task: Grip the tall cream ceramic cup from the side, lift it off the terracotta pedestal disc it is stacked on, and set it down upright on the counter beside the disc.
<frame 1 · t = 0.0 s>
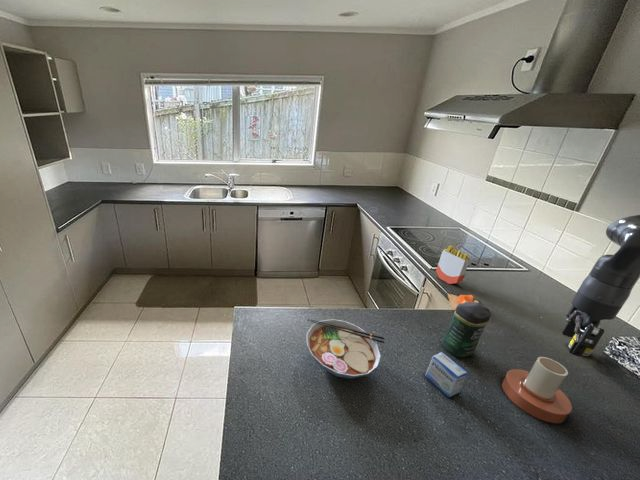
hand: (570, 344, 76), 20 cm above the worktop, tool pointing down, fingers open, 8 cm apart
ramen bowl: (338, 361, 92), on the worktop
coffee jar: (457, 349, 98), on the worktop
cream cup: (538, 388, 80), point 4 cm above the worktop, touching terracotta pedestal disc
medicine box: (441, 384, 85), on the worktop
french fries container: (447, 280, 139), on the worktop
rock: (464, 305, 122), on the worktop
supplement bottle: (578, 350, 100), on the worktop
terracotta pedestal disc: (532, 398, 82), on the worktop, touching cream cup
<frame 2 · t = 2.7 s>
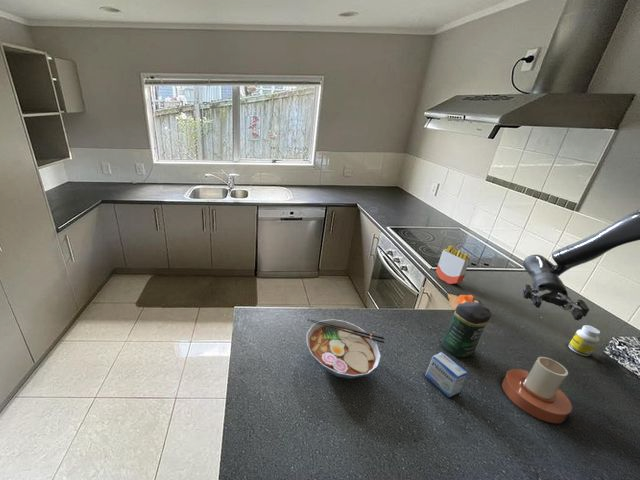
hand: (558, 311, 84), 23 cm above the worktop, tool horizontal, fingers open, 8 cm apart
nothing on the worktop moved.
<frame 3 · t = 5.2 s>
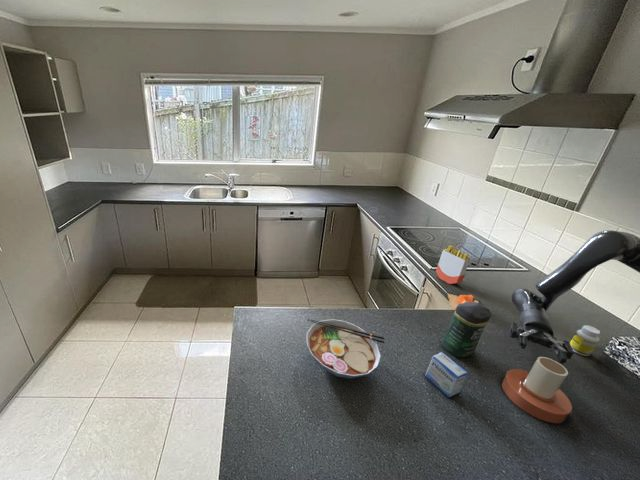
hand: (542, 353, 84), 10 cm above the worktop, tool horizontal, fingers open, 8 cm apart
nothing on the worktop moved.
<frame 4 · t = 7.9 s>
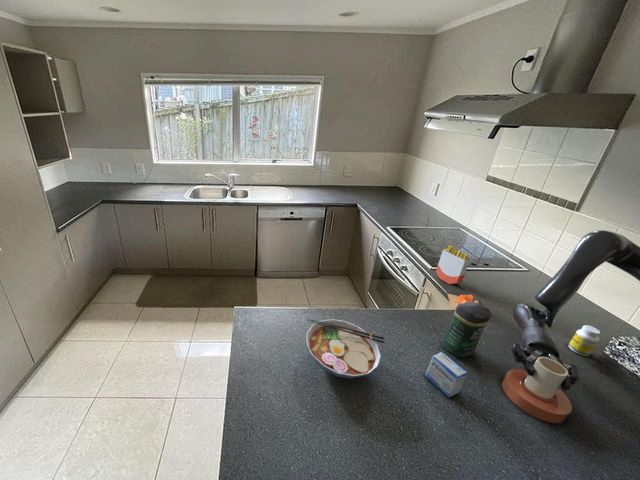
hand: (548, 380, 76), 10 cm above the worktop, tool horizontal, fingers closed on cream cup, 6 cm apart
cream cup: (538, 388, 80), point 4 cm above the worktop, touching gripper, terracotta pedestal disc
everything else where it was.
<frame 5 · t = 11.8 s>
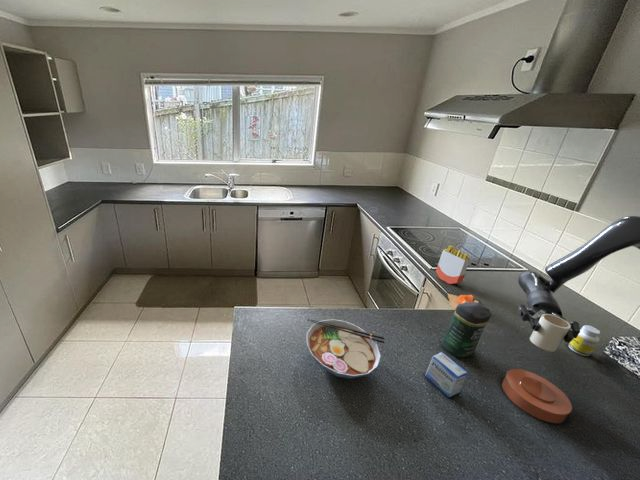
hand: (552, 334, 82), 17 cm above the worktop, tool horizontal, fingers closed on cream cup, 6 cm apart
cream cup: (542, 343, 86), point 12 cm above the worktop, touching gripper
terracotta pedestal disc: (532, 398, 82), on the worktop
everything else where it was.
when the fingers open (6 cm above the worktop, at t = 15.8 s): cream cup stays where it is, on the worktop.
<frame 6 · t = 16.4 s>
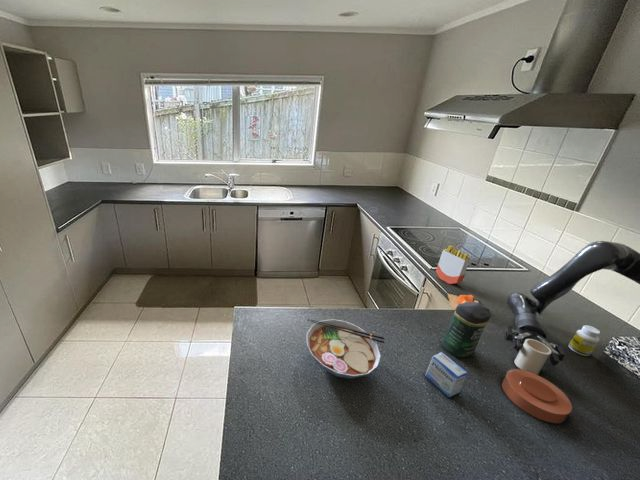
hand: (536, 356, 88), 7 cm above the worktop, tool horizontal, fingers open, 8 cm apart
cream cup: (526, 366, 93), on the worktop
everything else where it was.
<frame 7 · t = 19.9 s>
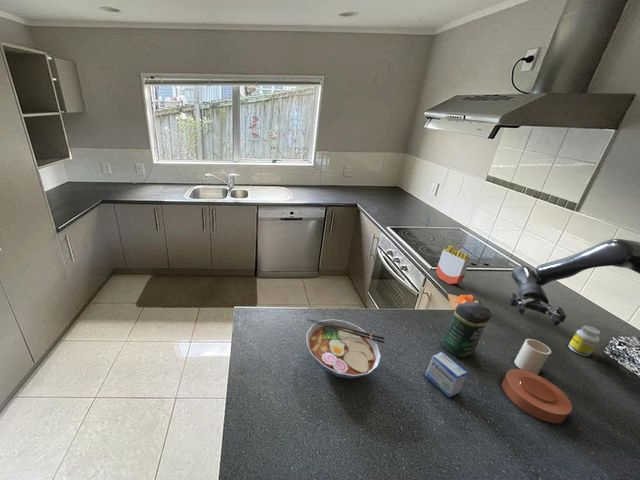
hand: (539, 317, 96), 13 cm above the worktop, tool horizontal, fingers open, 8 cm apart
nothing on the worktop moved.
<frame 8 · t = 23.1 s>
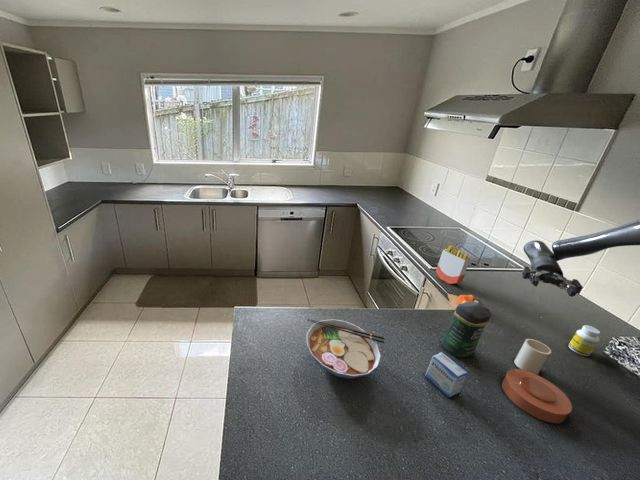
hand: (554, 288, 91), 25 cm above the worktop, tool horizontal, fingers open, 8 cm apart
nothing on the worktop moved.
at the end: cream cup inside the target area (0.1 cm from its centre), on the worktop; cream cup tilted 0°; cream cup touching worktop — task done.
